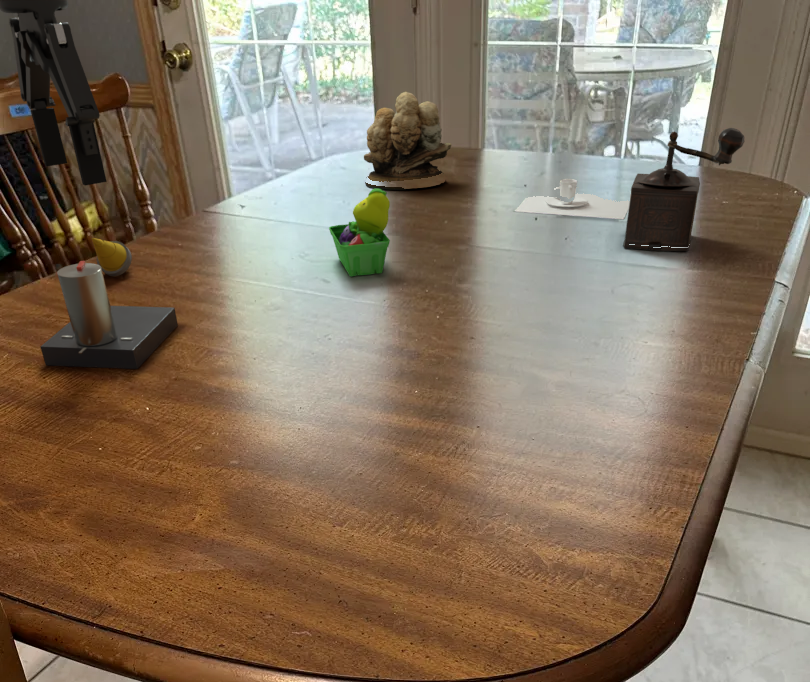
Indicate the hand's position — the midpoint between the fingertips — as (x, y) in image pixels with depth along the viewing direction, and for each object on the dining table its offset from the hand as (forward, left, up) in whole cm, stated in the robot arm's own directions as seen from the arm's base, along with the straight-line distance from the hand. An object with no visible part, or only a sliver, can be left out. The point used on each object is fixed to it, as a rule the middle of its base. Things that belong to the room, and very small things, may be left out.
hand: (74, 173), depth 104 cm
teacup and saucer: (+66, +64, -19) cm, 94 cm away
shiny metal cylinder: (+5, -13, -16) cm, 21 cm away
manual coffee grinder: (+81, +39, -19) cm, 92 cm away
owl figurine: (+32, +76, -19) cm, 85 cm away
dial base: (+5, -9, -19) cm, 21 cm away
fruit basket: (+32, +24, -19) cm, 44 cm away
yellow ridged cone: (-6, +17, -19) cm, 26 cm away
